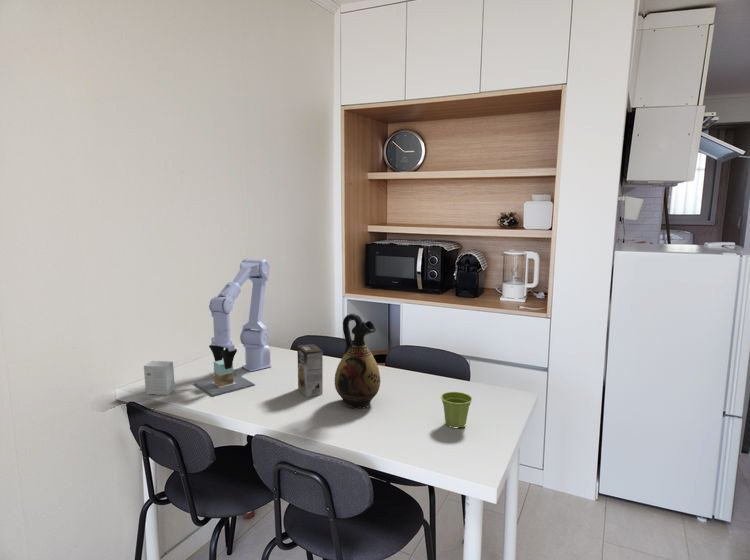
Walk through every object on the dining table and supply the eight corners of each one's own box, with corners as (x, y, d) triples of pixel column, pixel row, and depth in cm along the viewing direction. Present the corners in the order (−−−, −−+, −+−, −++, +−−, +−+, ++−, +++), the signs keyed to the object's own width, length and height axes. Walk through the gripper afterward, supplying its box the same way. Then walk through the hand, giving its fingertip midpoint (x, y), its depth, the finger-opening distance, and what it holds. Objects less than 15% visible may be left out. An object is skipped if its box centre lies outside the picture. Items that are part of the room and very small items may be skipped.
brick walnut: (227, 379, 185) (226, 369, 185) (233, 383, 182) (233, 372, 181) (214, 382, 182) (213, 372, 181) (220, 386, 178) (220, 375, 178)
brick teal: (226, 369, 185) (226, 358, 184) (233, 372, 181) (232, 362, 181) (214, 372, 182) (213, 361, 181) (220, 375, 178) (219, 365, 177)
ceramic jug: (389, 400, 169) (390, 314, 164) (362, 416, 156) (363, 323, 152) (349, 389, 178) (349, 308, 174) (321, 403, 166) (320, 316, 161)
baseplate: (234, 374, 193) (234, 372, 193) (254, 385, 182) (254, 383, 181) (194, 384, 183) (193, 382, 182) (212, 396, 171) (212, 394, 171)
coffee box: (297, 388, 179) (296, 345, 176) (314, 385, 182) (313, 343, 179) (305, 397, 171) (305, 352, 168) (323, 394, 174) (323, 349, 171)
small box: (175, 389, 177) (173, 361, 175) (167, 395, 171) (165, 366, 170) (154, 388, 178) (152, 360, 176) (145, 394, 172) (143, 365, 171)
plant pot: (444, 415, 157) (444, 389, 156) (473, 420, 154) (474, 394, 152) (436, 428, 149) (437, 400, 147) (468, 433, 145) (469, 405, 144)
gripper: (202, 327, 181) (204, 363, 184) (220, 335, 171) (222, 373, 173) (221, 324, 186) (222, 359, 188) (239, 332, 176) (240, 368, 178)
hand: (223, 365), depth 181 cm, fingers open, 7 cm apart
